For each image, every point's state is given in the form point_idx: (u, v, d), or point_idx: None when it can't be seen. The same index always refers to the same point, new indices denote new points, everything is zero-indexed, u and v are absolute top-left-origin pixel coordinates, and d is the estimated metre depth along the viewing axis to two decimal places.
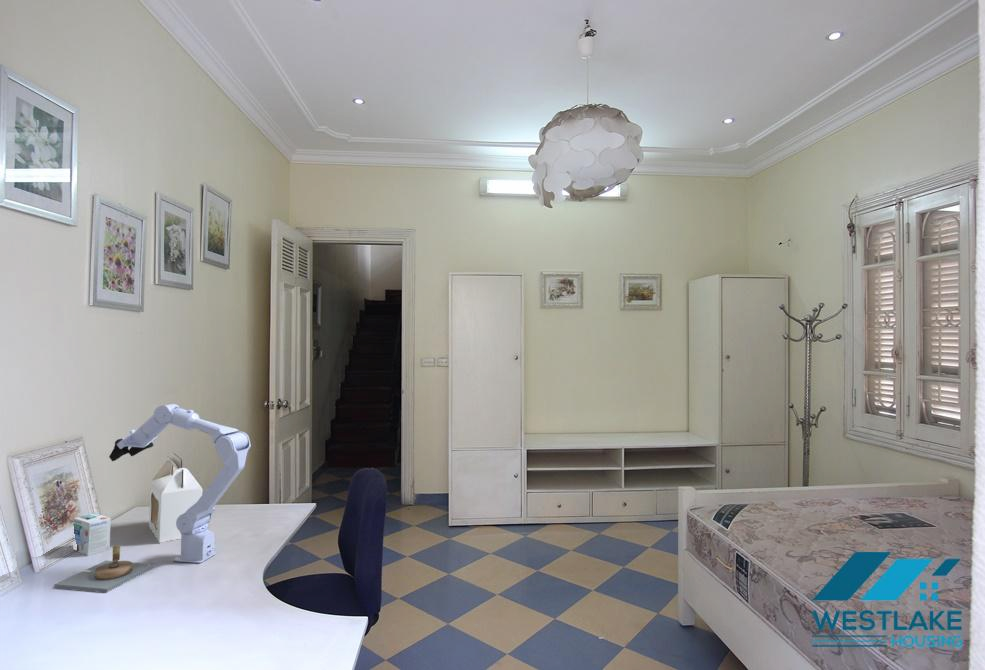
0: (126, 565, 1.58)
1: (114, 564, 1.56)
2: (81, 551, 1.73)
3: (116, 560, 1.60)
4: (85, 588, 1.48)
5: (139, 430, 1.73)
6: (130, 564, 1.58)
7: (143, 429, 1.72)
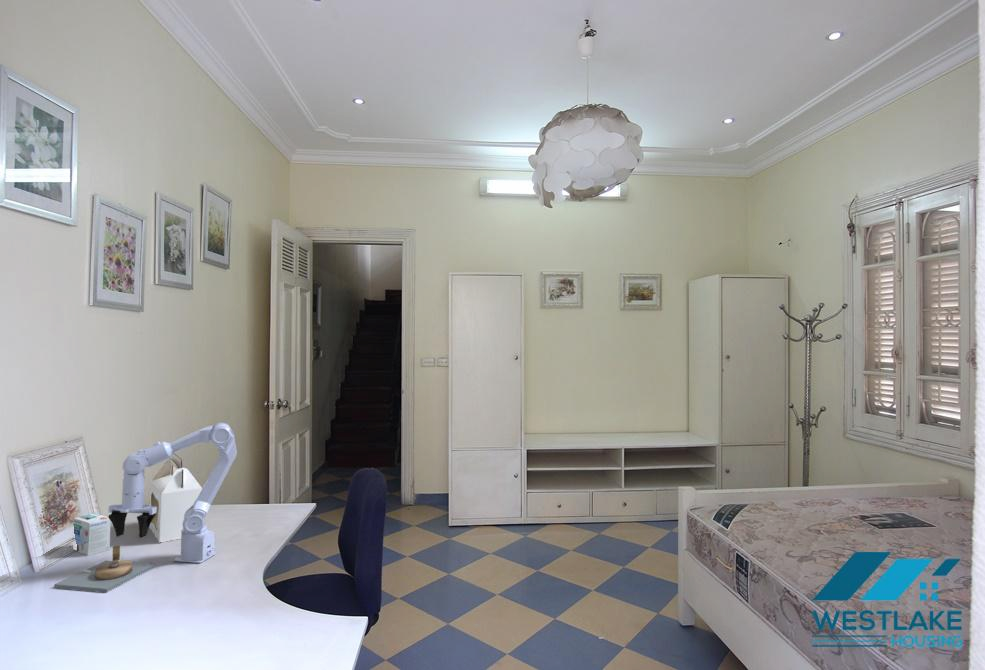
0: (126, 565, 1.58)
1: (114, 564, 1.56)
2: (81, 551, 1.73)
3: (116, 560, 1.60)
4: (85, 588, 1.48)
5: (137, 496, 1.63)
6: (130, 564, 1.58)
7: (130, 492, 1.62)
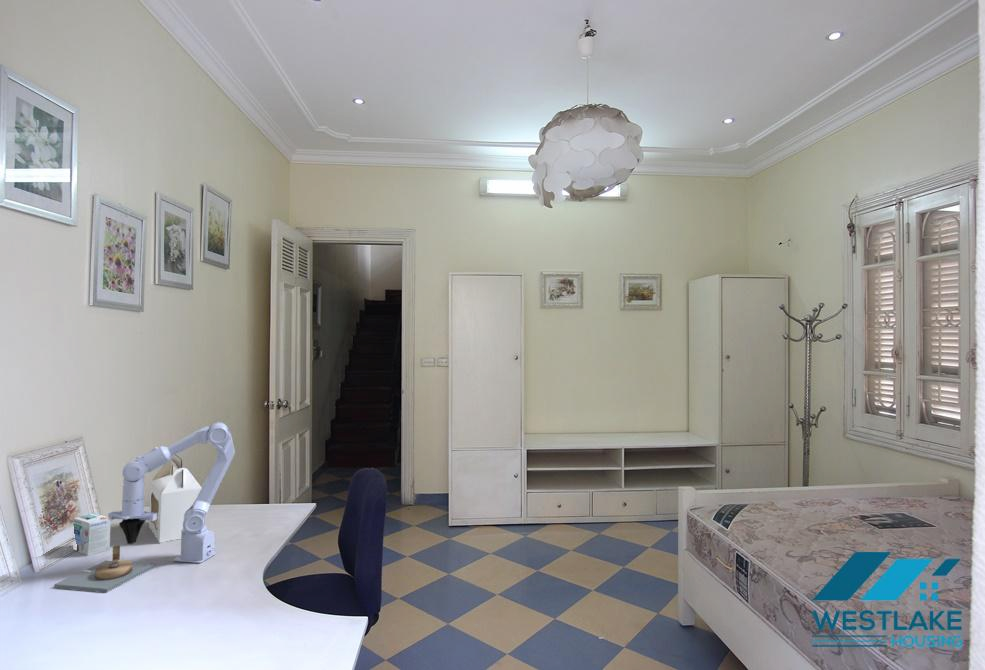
0: (126, 565, 1.58)
1: (114, 564, 1.56)
2: (81, 551, 1.73)
3: (116, 560, 1.60)
4: (85, 588, 1.48)
5: (138, 503, 1.63)
6: (130, 564, 1.58)
7: (130, 499, 1.61)
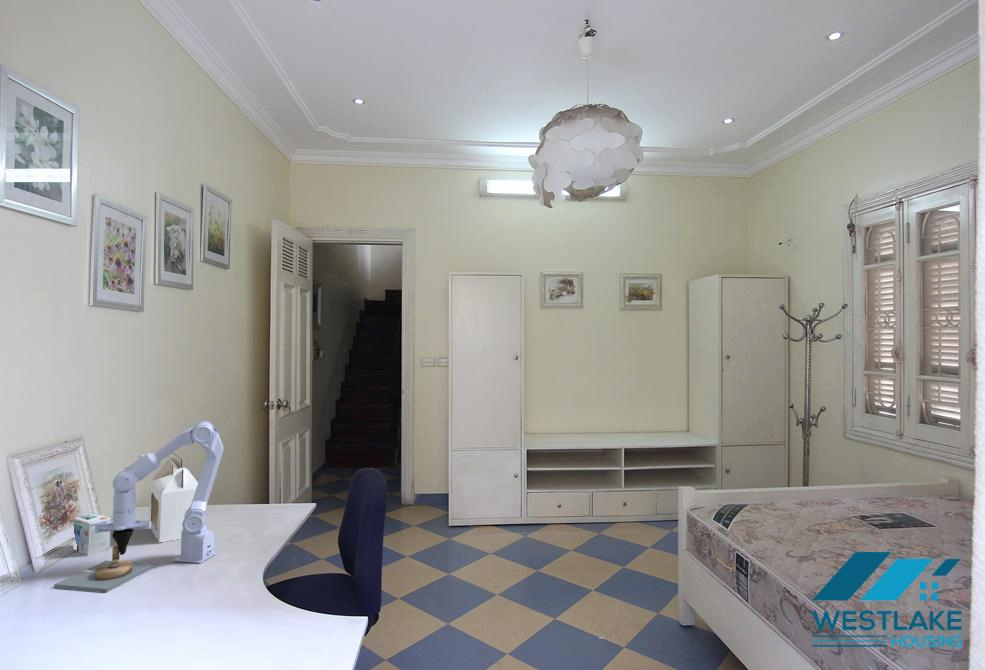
0: (126, 565, 1.58)
1: (114, 564, 1.56)
2: (81, 551, 1.73)
3: (116, 560, 1.60)
4: (85, 588, 1.48)
5: (132, 512, 1.63)
6: (130, 564, 1.58)
7: (121, 510, 1.61)
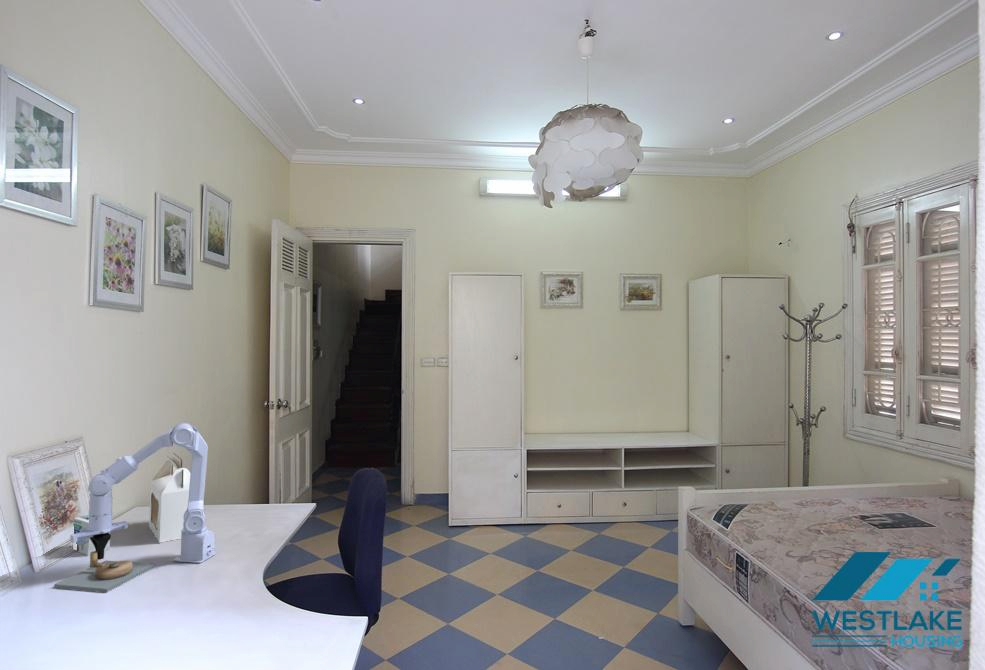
0: (124, 562, 1.59)
1: (115, 564, 1.57)
2: (81, 551, 1.73)
3: (102, 564, 1.57)
4: (85, 588, 1.48)
5: (111, 514, 1.61)
6: (126, 561, 1.60)
7: (97, 514, 1.57)
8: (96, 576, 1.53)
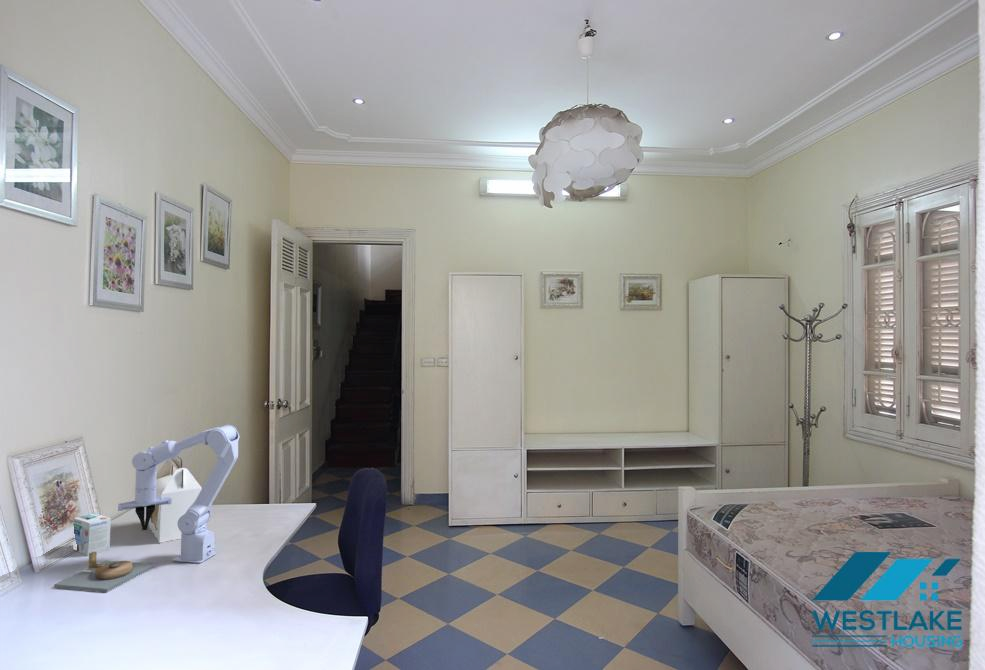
0: (124, 562, 1.60)
1: (115, 564, 1.57)
2: (81, 551, 1.73)
3: (102, 564, 1.57)
4: (85, 588, 1.48)
5: (154, 489, 1.71)
6: (125, 561, 1.61)
7: (139, 487, 1.68)
8: (96, 576, 1.53)
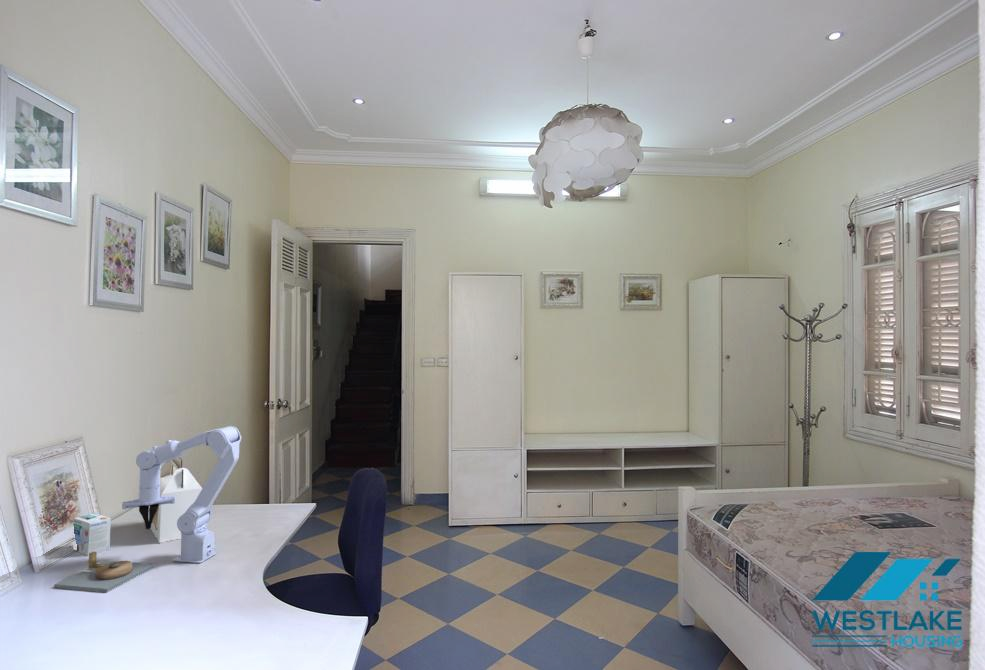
0: (124, 562, 1.60)
1: (115, 564, 1.57)
2: (81, 551, 1.73)
3: (102, 564, 1.57)
4: (85, 588, 1.48)
5: (158, 488, 1.72)
6: (125, 561, 1.61)
7: (142, 486, 1.69)
8: (96, 576, 1.53)
